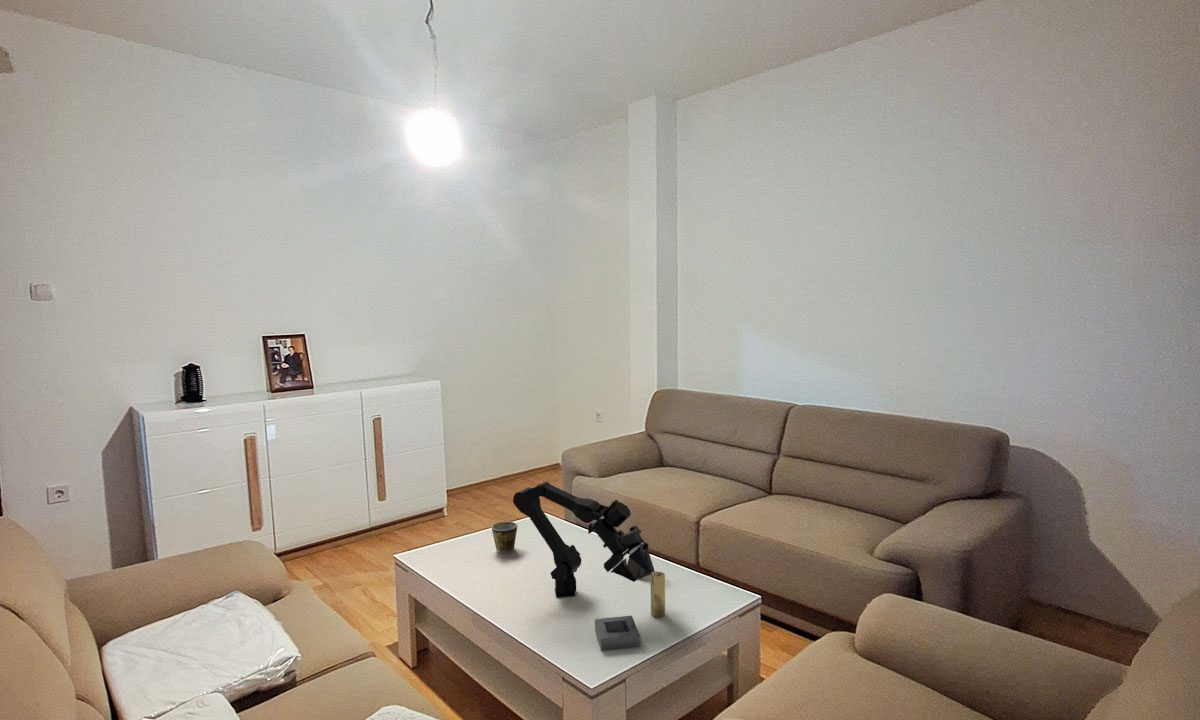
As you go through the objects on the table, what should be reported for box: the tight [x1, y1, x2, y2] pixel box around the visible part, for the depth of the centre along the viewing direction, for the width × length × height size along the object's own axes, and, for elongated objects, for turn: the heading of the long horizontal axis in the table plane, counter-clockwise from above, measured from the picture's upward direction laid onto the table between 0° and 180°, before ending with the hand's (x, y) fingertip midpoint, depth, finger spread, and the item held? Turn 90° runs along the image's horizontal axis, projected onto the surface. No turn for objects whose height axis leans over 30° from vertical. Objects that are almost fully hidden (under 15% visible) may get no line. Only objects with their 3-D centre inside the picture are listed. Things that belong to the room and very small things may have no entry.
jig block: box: [594, 615, 641, 652], centre depth 180 cm, size 11×11×4 cm
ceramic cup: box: [491, 520, 518, 555], centre depth 243 cm, size 13×10×10 cm
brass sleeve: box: [650, 570, 666, 619], centre depth 192 cm, size 4×4×13 cm
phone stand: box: [627, 541, 656, 580], centre depth 222 cm, size 9×6×12 cm, turn 127°
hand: (641, 575), depth 194 cm, fingers open, 9 cm apart
